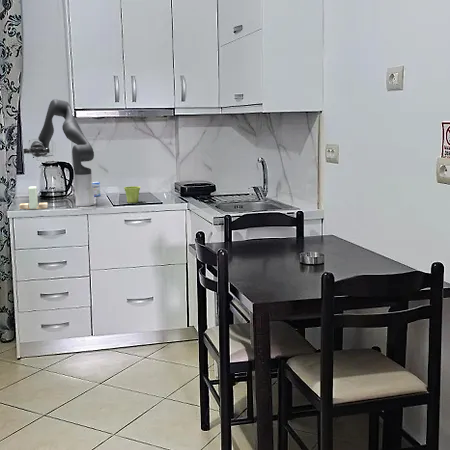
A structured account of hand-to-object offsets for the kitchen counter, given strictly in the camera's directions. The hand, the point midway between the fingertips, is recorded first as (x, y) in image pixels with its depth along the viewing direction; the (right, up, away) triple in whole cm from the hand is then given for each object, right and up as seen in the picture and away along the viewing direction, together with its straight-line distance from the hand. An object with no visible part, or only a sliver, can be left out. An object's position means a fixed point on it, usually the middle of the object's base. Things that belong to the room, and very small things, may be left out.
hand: (36, 151), depth 373 cm
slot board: (+3, -32, -13) cm, 35 cm away
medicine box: (+26, -24, +33) cm, 48 cm away
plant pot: (+53, -29, +5) cm, 61 cm away
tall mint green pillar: (+3, -32, -13) cm, 34 cm away
